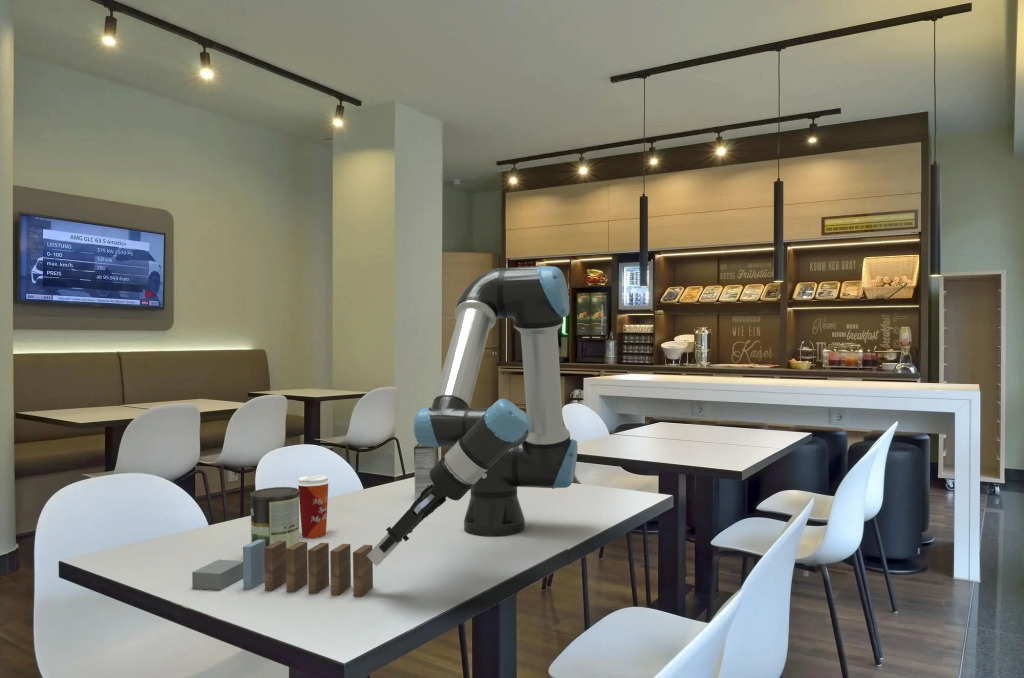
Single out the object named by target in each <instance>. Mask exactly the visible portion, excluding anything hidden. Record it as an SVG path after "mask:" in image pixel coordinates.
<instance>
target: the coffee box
mask: <svg viewBox="0 0 1024 678" xmlns="http://www.w3.org/2000/svg"><path fill="white" fill-rule="evenodd" d="M413 458H414V460H413V464H414V465H413V466H414V502H415V501H416V500H417V499H418V498H419V497H420V495H421V493H422V491H423V490H424V489H425V488H427V487H429V486H430V485H431V484H432V485H433V482H432V480H431V478H430V470H431V469H432V468H433V467H434V466H435V465H436V464H437V463H438V462H439V461H440V459H439V458H440V457H439V448H438V447H431V446H423V445H420V444H419V443H418V442H417V444H416V445H415V446H413Z"/></svg>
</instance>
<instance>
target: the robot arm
mask: <svg viewBox="0 0 1024 678" xmlns="http://www.w3.org/2000/svg"><path fill="white" fill-rule="evenodd" d="M456 303H457V304H456V306H455V310H454V319H455V321H456V322H455V326H454V330H453V333H452V336H451V340H450V342H449V347H448V350H447V353H446V356H445V359H444V360H445V361H444V364H443V367H442V370H441V374H440V377H439V381H438V384H437V388H436V391H435V394H434V398H433V401H432V405H431V407H430V406H428V407H425V408H424V407H423V408H420V409H419V410H418V411H417V412H416V414H415V415H414V421H413V433H414V438H415V440H416V442H417V444H418V443H419V444H420V445H423V446H431V447H438V449H439V448H443V447H444V448H449V447H450V448H449V450H448V451H447V452H445V454H444V457H442V458H440V459H439V462H438V463H437V464H436V465H435V466H434V467H433V468H432V469H431V470H430V478H431V480H432V482H433V485H432V484H431V485H430V486H429V487H427V488H425V489H424V490H423V491H422V493H421V495H420V497H419V498H418V499H417V500H416V501H415V500H414V501H413V503H412V505H411V506H410V507H409V508H408V510H407V511H406V512H405V513H404V514H403V515H402V516H401V517H400V519H399V520H398V521H396V522H395V524H394V525H393V526H392V527H391V526H388V527H387V528H386V529H385V531H387V534H385V535H384V536H383V538H382V539H381V540H380V541H379V542H378V543H377V544H376V545H375V546H374V547H372V550H371V551H370V552H369V554H368V555H367V557H368V558H369V559H370V560H371V561H372V562H373V565H374V566H375V567H378V566H379V565H381V564H382V562H383V561H384V560H386V558H387V557H388V556H389V555H390V554H391V553H392V552H393V551H394V550H395V549H396V548H397V547H398V545H400V543H402V542H403V541H404V542H407V541H408V540H409V539H410V537H409V536H408V535H409V534H412V533H413V530H415V528H416V527H418V525H419V524H420V523H421V522H423V520H425V518H427V517H429V516H430V515H431V514H433V513H434V512H435V511H436V509H438V508H439V507H441V506H442V505H443V504H445V502H446V501H447V498H448V500H449V499H450V500H451V501H460V500H461V499H462V498H463V497H464V496H465V495H466V494H467V493H468V492H469V491H470V498H469V502H468V504H467V505H468V506H467V510H466V512H465V515H464V519H463V529H464V531H465V533H469V534H472V535H477V536H486V537H494V536H495V537H496V536H497V537H498V536H508V535H509V536H510V535H513V534H517V533H519V532H522V531H524V530H525V528H526V520H525V516H524V513H523V510H522V507H521V503H520V501H519V498H518V488H538V489H552V490H553V489H565V488H566V489H568V488H569V487H570V486H571V485H572V484H573V481H574V478H575V472H576V468H577V467H576V466H577V460H578V459H577V458H578V449H579V448H578V447H579V446H578V441H577V440H576V439H574V438H572V439H571V432H570V430H569V429H568V428H566V427H565V426H564V417H563V405H562V404H563V402H562V385H561V371H560V370H561V369H560V356H559V355H560V354H559V353H560V352H559V351H560V350H559V338H558V337H559V336H558V335H559V334H558V332H559V331H558V330H559V329H560V328H561V327H562V325H564V318H566V317H568V316H569V314H570V310H571V309H570V296H569V290H568V284H567V280H566V278H565V275H564V273H563V271H562V270H561V268H559V267H557V266H550V265H547V266H546V265H533V266H531V265H530V266H518V267H497V268H496V267H495V268H492V269H489V270H487V271H485V272H483V273H481V274H480V275H478V276H477V277H476V278H475V279H473V281H471V282H470V283H469V284H468V286H467V287H466V288H465V289H464V290H463V292H462V293H461V296H460V297H459V299H458V301H457V302H456ZM499 319H512V322H513V328H514V329H516V330H517V332H519V333H520V343H521V352H522V353H521V354H522V356H521V357H522V367H523V369H522V371H523V382H524V395H525V396H524V397H525V409H526V412H525V411H524V410H523V409H520V408H519V407H518V406H516V404H514V403H513V402H512V401H510V400H508V399H506V398H499V399H497V400H496V401H495V402H494V403H493V404H492V405H491V406H490V407H487V408H471V403H472V399H473V396H474V395H473V394H474V392H475V387H476V383H477V379H478V376H479V372H480V371H479V370H480V367H481V364H482V360H483V356H484V352H485V348H486V345H487V344H486V343H487V339H488V336H489V333H490V330H491V329H493V328H494V326H496V323H497V322H496V321H497V320H499Z"/></svg>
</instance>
